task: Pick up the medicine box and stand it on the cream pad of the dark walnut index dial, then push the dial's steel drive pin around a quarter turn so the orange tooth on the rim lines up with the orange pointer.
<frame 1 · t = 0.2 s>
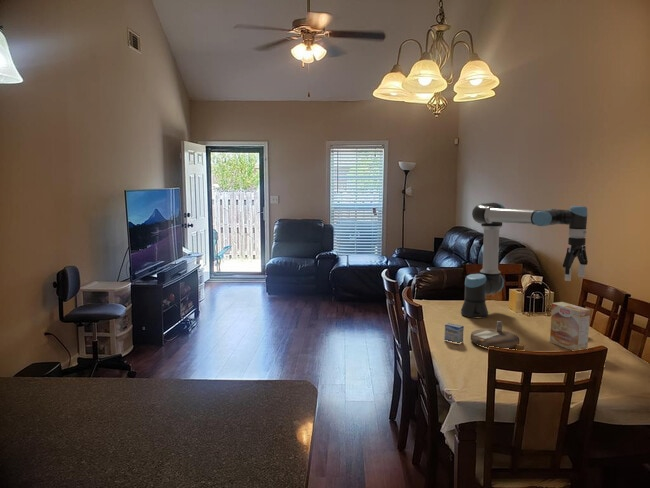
hand: (574, 278, 227), 28 cm above the table, tool pointing down, fingers open, 13 cm apart
index dial: (494, 333, 216), point 5 cm above the table, hinge at 0.0°
coffeecake box: (568, 346, 212), on the table
medicine box: (453, 342, 219), on the table
dial base: (494, 343, 217), on the table
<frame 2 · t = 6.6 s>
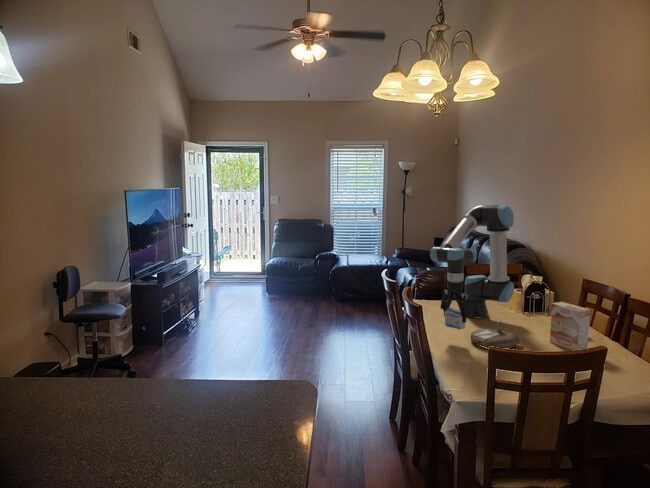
hand: (454, 326, 219), 8 cm above the table, tool pointing down, fingers closed on medicine box, 8 cm apart
medicine box: (454, 327, 219), point 7 cm above the table, touching gripper
everything else where it was.
when the fingers open (5 cm above the table, at t = 11.0 s): medicine box stays where it is, resting on index dial.
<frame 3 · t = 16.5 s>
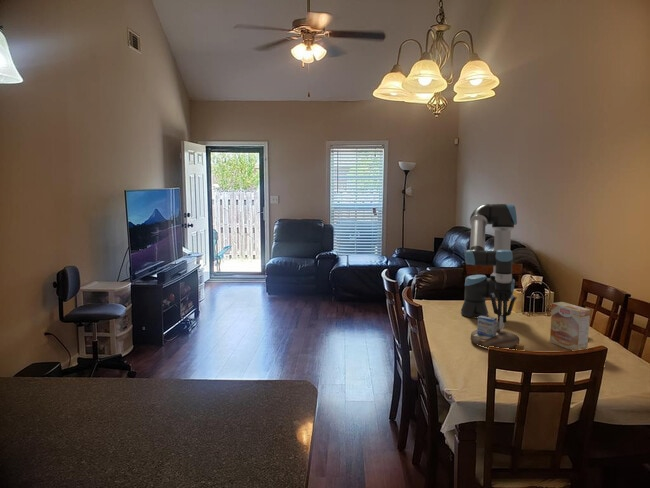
hand: (501, 328, 222), 5 cm above the table, tool pointing down, fingers closed
index dial: (494, 333, 216), point 5 cm above the table, hinge at 5.1°, touching gripper, medicine box
medicine box: (486, 335, 218), point 3 cm above the table, touching index dial
everything else where it was.
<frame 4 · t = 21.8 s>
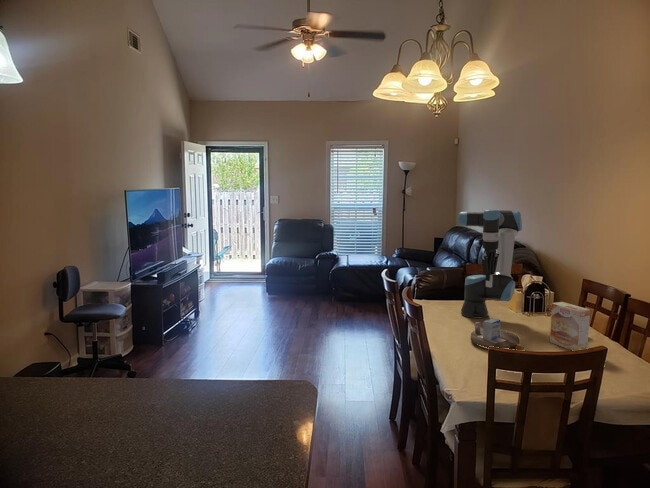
hand: (488, 286, 228), 24 cm above the table, tool pointing down, fingers closed
index dial: (494, 333, 216), point 5 cm above the table, hinge at 82.7°, touching medicine box
medicine box: (491, 338, 214), point 3 cm above the table, touching index dial
everything else where it was.
at the end: index dial at +83° (first picture: +0°); medicine box tilted 0°; medicine box 3.8 cm from the index dial (horizontally) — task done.
